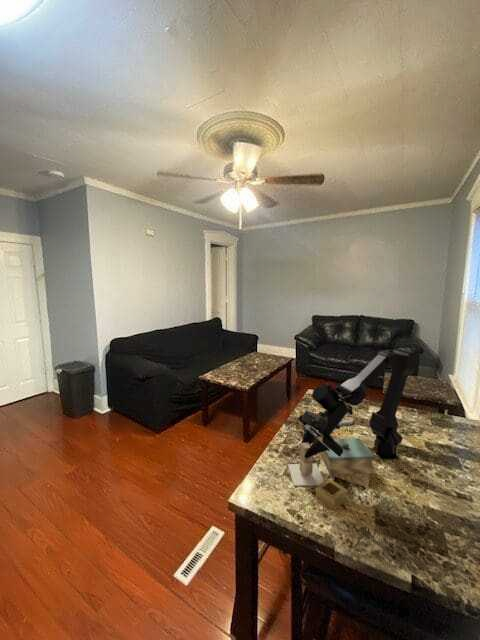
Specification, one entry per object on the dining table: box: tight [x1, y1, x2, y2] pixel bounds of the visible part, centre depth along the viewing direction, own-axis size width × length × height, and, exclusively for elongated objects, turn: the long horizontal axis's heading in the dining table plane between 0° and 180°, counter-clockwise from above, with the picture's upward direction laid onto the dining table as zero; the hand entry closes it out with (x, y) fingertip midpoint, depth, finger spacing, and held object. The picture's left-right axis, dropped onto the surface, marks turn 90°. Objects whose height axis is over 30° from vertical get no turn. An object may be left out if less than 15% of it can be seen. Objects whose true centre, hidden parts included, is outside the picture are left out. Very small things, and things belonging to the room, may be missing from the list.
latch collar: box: [315, 478, 348, 511], centre depth 82 cm, size 6×6×3 cm
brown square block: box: [299, 442, 314, 476], centre depth 91 cm, size 3×3×10 cm
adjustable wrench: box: [314, 416, 354, 438], centre depth 122 cm, size 25×6×2 cm, turn 118°
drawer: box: [320, 437, 375, 475], centre depth 97 cm, size 15×11×7 cm
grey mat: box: [287, 462, 325, 487], centre depth 92 cm, size 10×10×1 cm
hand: (302, 454), depth 90 cm, fingers closed on brown square block, 3 cm apart
